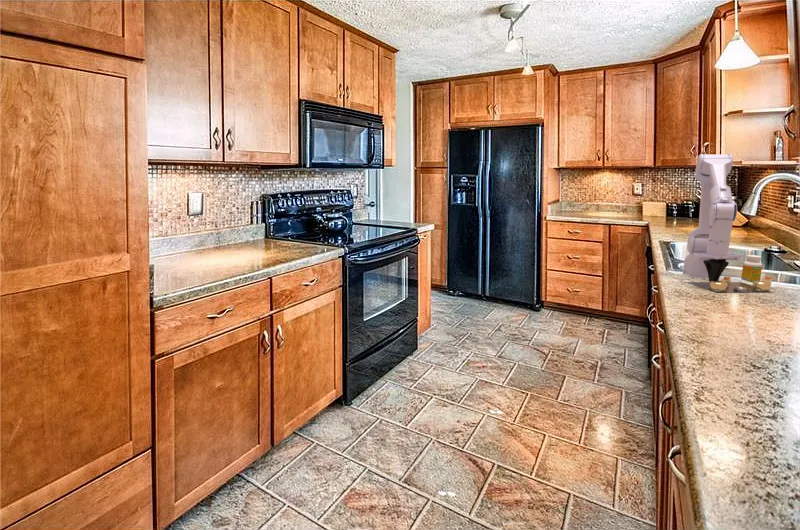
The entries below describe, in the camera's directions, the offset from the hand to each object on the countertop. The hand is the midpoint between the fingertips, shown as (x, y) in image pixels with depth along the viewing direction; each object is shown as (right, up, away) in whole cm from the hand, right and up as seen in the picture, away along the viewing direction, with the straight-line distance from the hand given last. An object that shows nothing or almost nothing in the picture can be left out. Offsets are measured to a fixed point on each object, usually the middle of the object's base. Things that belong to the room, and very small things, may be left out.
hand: (713, 282), depth 155 cm
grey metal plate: (+5, -3, 0) cm, 6 cm away
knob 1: (+1, -2, -3) cm, 4 cm away
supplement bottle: (+21, -1, +12) cm, 24 cm away
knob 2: (+15, -2, -2) cm, 15 cm away
